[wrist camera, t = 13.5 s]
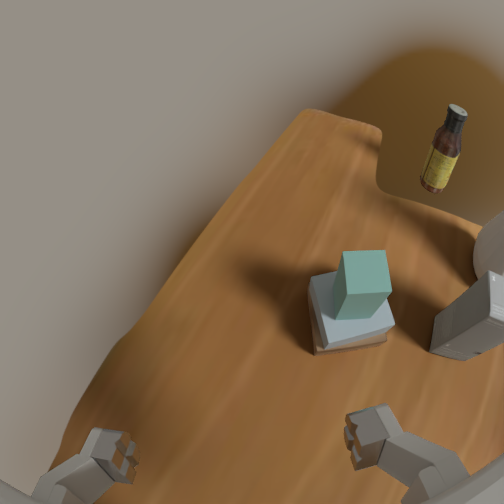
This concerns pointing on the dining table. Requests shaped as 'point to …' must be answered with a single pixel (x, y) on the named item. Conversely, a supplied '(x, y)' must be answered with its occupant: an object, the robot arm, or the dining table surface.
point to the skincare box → (471, 320)
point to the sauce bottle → (444, 151)
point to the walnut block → (352, 346)
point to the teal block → (361, 284)
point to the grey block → (344, 330)
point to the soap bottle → (490, 248)
